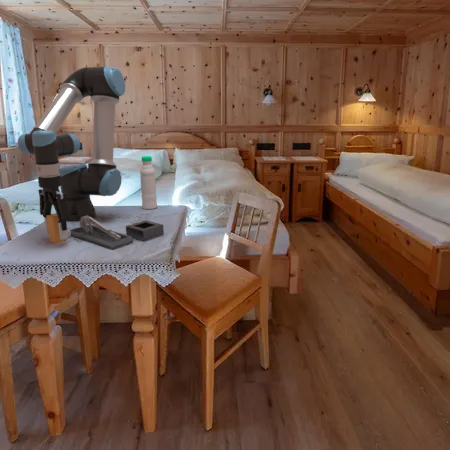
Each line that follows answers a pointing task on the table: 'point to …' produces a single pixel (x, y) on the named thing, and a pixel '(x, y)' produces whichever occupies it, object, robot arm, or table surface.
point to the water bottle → (148, 184)
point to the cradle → (101, 237)
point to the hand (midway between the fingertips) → (57, 236)
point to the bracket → (90, 220)
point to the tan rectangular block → (54, 228)
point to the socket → (145, 230)
